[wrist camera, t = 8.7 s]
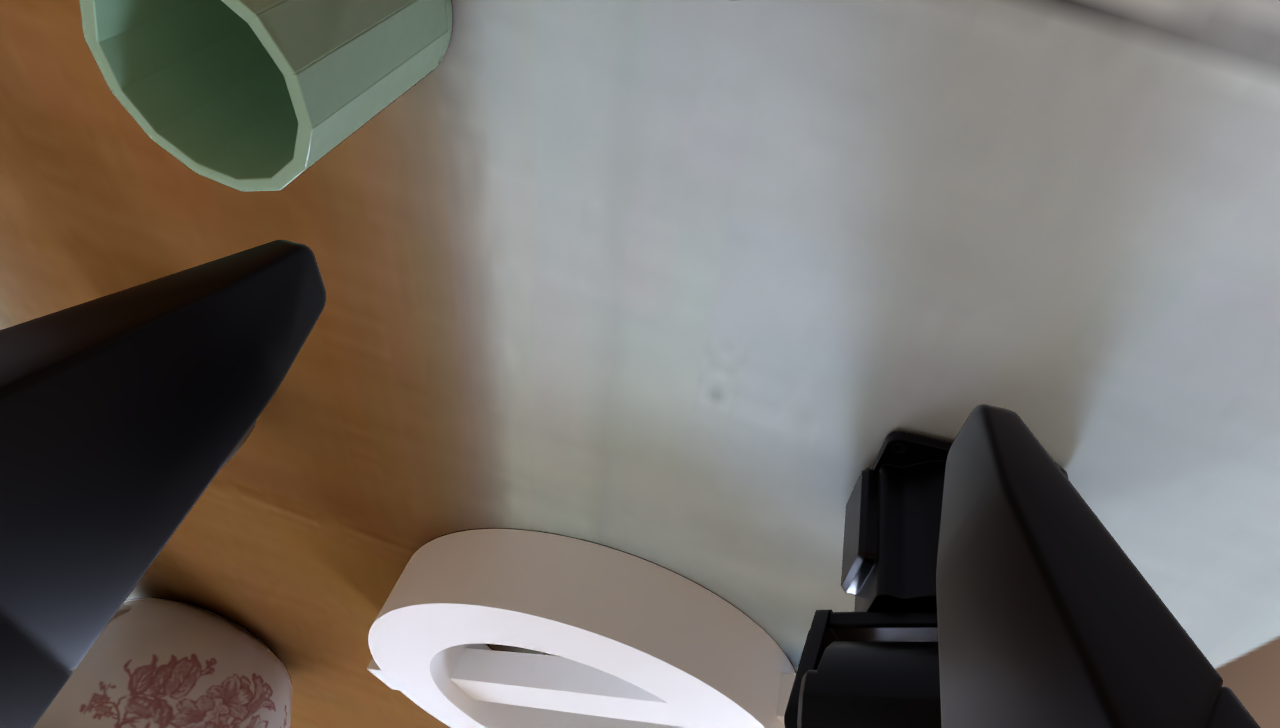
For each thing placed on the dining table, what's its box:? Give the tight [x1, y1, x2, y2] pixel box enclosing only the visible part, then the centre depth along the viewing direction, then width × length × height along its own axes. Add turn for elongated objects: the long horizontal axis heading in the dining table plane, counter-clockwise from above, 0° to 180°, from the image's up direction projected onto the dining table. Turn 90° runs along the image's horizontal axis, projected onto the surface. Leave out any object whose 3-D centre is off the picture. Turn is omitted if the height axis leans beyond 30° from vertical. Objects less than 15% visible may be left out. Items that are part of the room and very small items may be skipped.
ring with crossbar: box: [366, 529, 796, 728], centre depth 46 cm, size 28×28×5 cm
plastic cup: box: [79, 0, 453, 191], centre depth 18 cm, size 5×5×7 cm
